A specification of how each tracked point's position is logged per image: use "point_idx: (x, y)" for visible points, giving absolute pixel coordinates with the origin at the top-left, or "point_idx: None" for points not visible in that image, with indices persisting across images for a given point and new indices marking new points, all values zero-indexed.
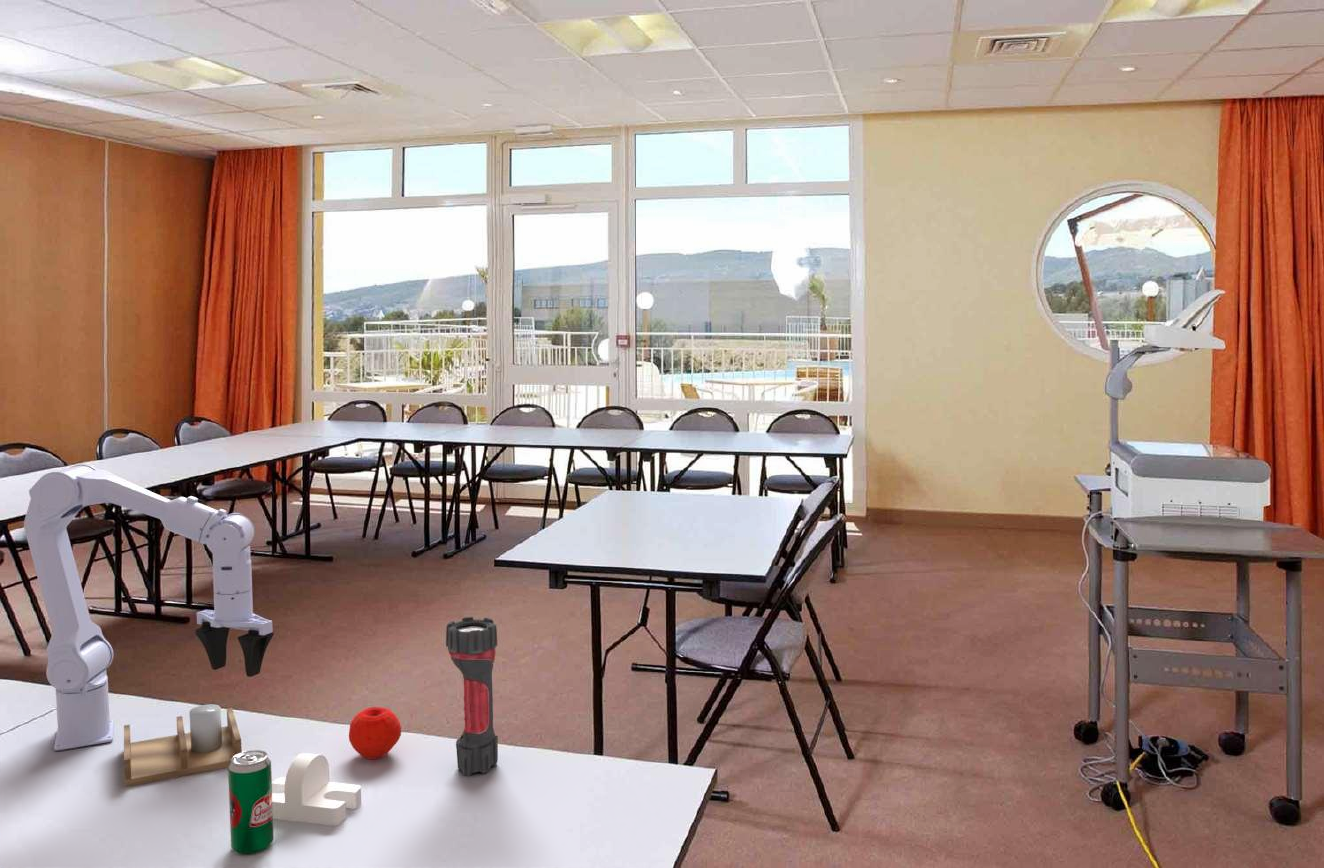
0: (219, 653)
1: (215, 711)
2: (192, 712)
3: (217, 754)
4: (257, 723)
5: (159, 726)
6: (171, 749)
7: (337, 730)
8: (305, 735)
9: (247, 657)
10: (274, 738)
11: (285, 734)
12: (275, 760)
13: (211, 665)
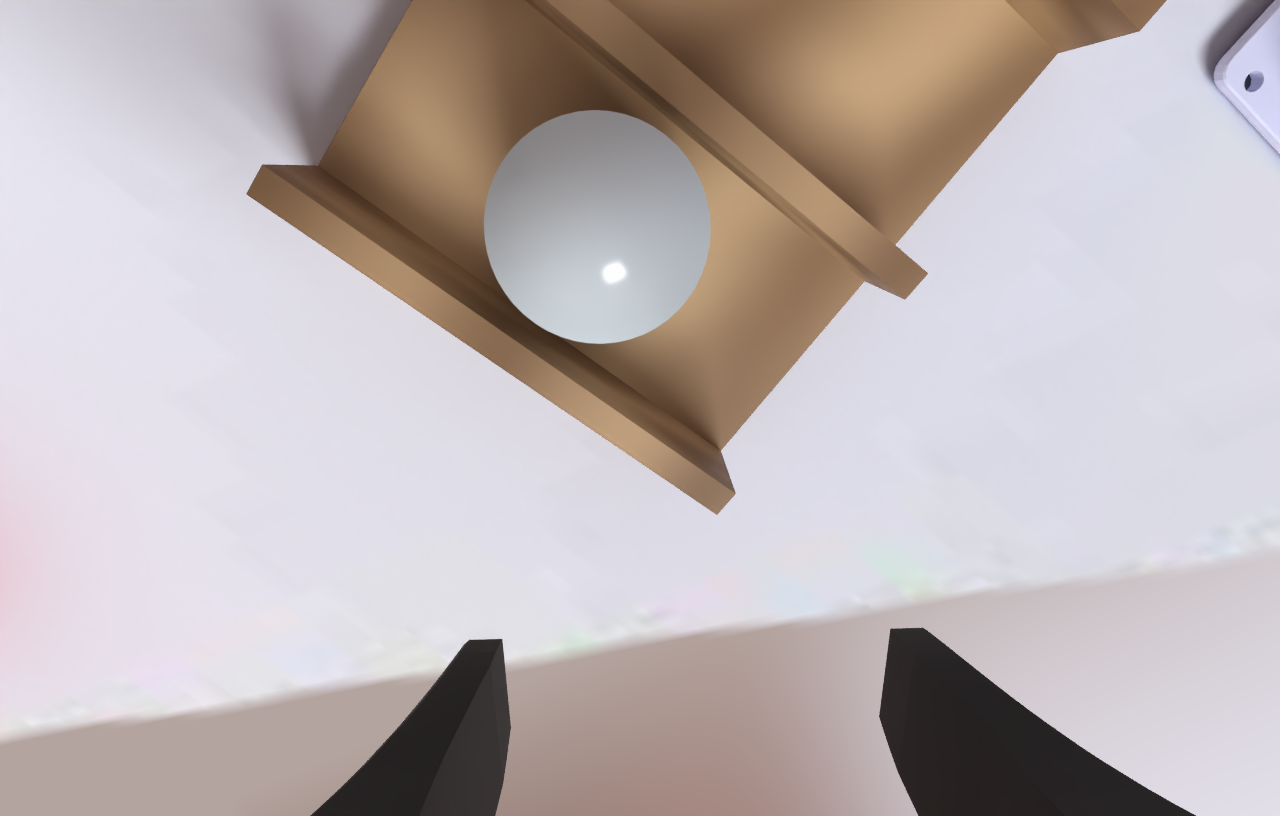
0: (950, 789)
1: (493, 242)
2: (643, 146)
3: (463, 165)
4: (665, 563)
5: (1099, 341)
6: (757, 95)
7: (275, 653)
8: (352, 561)
9: (376, 774)
10: (450, 480)
11: (443, 532)
12: (221, 303)
13: (938, 643)
